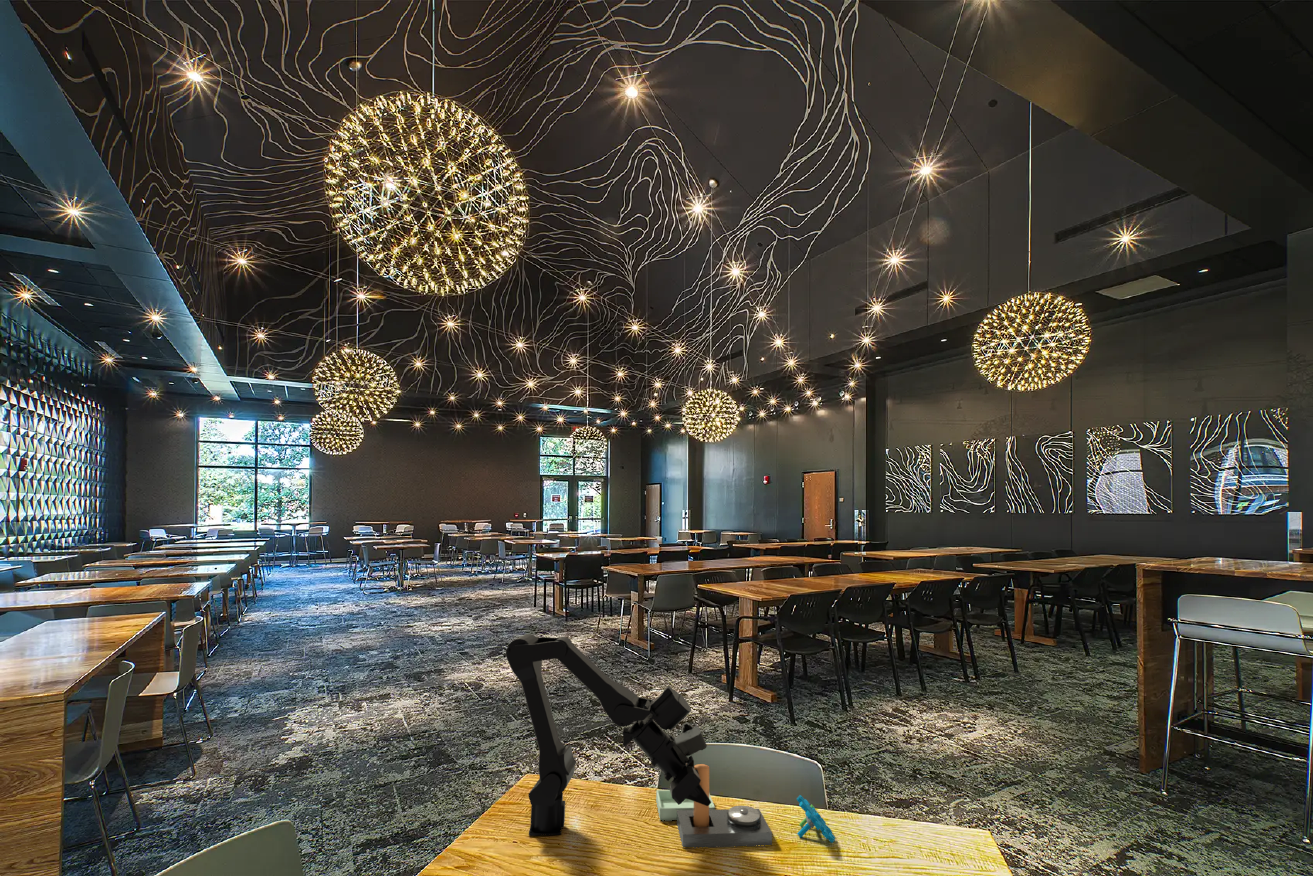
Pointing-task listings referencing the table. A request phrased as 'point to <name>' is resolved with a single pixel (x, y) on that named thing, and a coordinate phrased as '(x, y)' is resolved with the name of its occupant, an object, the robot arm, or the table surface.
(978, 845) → the table surface
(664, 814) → the tray
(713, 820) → the plate
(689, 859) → the table surface
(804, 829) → the gear
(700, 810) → the pin
